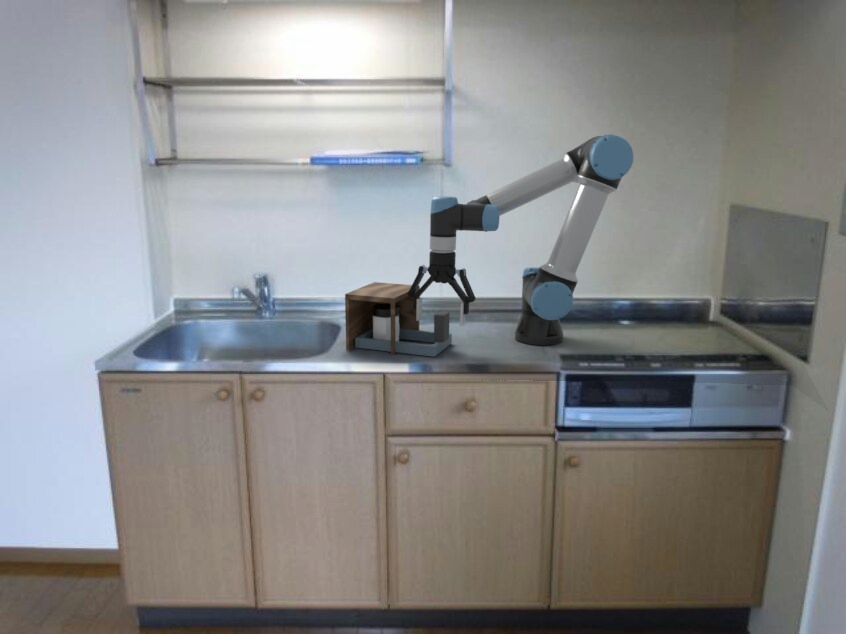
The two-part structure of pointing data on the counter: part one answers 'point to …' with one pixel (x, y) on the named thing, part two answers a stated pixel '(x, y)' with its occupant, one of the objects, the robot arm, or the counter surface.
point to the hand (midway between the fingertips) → (440, 322)
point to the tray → (438, 336)
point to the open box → (362, 309)
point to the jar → (384, 321)
